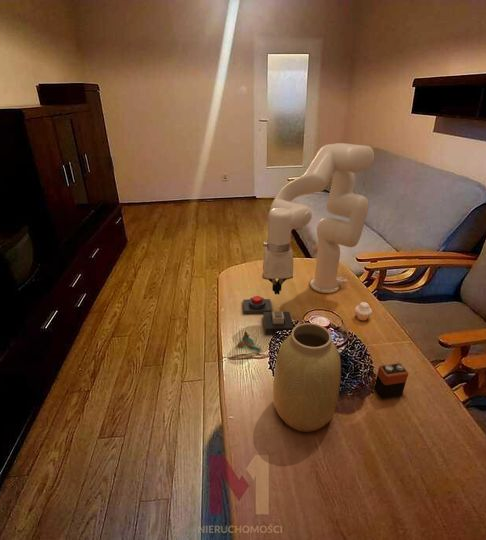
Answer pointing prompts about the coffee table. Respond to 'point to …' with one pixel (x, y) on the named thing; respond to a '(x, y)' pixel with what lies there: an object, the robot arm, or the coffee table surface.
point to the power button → (257, 299)
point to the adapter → (273, 328)
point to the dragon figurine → (247, 341)
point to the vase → (307, 378)
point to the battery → (391, 380)
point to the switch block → (256, 306)
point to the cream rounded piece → (363, 311)
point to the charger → (277, 317)
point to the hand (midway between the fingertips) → (276, 292)
